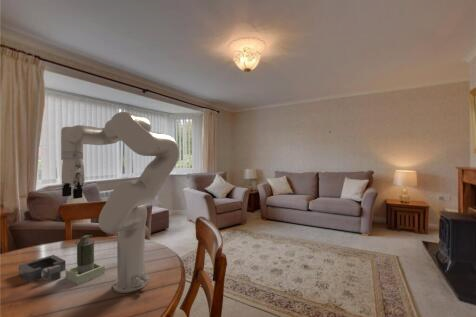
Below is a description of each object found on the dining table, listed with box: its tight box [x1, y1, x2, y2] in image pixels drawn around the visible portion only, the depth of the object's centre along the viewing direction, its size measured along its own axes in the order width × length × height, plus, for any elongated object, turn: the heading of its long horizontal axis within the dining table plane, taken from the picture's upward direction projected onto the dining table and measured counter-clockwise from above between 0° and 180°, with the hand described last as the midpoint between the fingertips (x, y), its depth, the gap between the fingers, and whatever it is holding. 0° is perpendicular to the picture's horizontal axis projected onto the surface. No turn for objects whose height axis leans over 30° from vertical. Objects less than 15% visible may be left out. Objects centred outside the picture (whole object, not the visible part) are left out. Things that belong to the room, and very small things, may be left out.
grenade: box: [74, 234, 95, 275], centre depth 94 cm, size 6×6×15 cm
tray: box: [65, 261, 106, 286], centre depth 94 cm, size 10×10×3 cm
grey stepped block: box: [42, 265, 62, 283], centre depth 92 cm, size 8×4×5 cm, turn 58°
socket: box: [18, 254, 66, 284], centre depth 97 cm, size 12×12×4 cm
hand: (72, 197), depth 96 cm, fingers open, 9 cm apart
